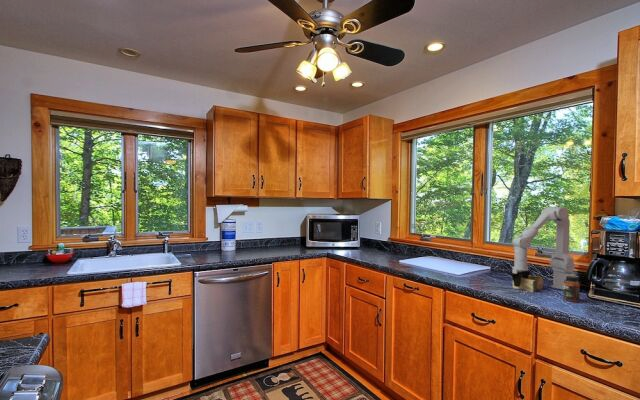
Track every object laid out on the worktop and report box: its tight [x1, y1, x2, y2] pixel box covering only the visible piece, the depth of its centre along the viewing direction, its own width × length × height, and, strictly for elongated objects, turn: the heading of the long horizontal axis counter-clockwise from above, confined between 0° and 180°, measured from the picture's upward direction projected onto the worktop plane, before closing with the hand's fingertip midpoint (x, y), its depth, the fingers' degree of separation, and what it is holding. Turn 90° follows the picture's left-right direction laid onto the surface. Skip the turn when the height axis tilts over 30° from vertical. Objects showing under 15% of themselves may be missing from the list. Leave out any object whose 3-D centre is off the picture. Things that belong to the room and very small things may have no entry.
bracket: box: [527, 274, 544, 290], centre depth 167 cm, size 9×4×7 cm, turn 36°
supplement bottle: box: [562, 276, 581, 303], centre depth 145 cm, size 6×6×11 cm
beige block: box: [512, 278, 538, 293], centre depth 162 cm, size 10×3×6 cm, turn 36°
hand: (520, 285), depth 163 cm, fingers open, 7 cm apart
